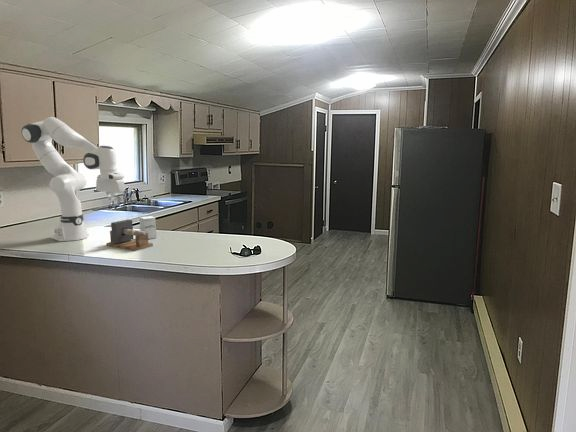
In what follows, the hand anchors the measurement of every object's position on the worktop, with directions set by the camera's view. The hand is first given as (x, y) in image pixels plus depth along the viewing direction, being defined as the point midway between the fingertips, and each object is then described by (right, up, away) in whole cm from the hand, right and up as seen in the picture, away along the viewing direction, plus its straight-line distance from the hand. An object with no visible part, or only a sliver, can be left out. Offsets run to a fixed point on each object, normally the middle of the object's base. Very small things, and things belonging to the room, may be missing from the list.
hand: (111, 199), depth 257 cm
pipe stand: (+11, -26, -2) cm, 28 cm away
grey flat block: (+7, -23, 0) cm, 24 cm away
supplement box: (+16, -22, +17) cm, 32 cm away
